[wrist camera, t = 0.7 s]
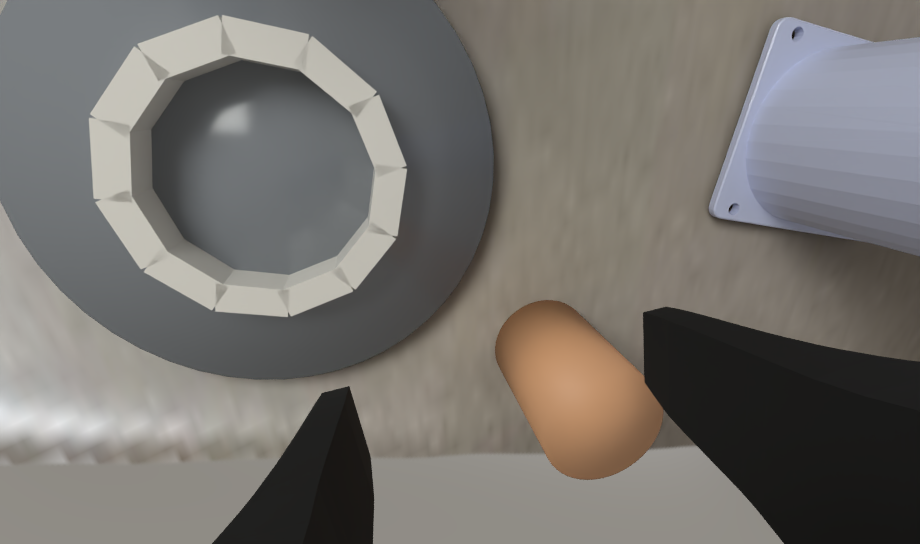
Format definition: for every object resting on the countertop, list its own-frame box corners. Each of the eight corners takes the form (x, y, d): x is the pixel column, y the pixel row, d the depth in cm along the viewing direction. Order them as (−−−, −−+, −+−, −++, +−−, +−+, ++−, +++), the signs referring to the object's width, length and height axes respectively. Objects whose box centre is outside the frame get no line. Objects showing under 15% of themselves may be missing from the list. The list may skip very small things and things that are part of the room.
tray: (529, -21, 16) (554, -40, 14) (449, 378, 21) (460, 409, 19) (-35, -180, 12) (-117, -239, 10) (27, 357, 17) (-21, 392, 15)
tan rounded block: (596, 304, 21) (680, 375, 16) (572, 387, 23) (641, 479, 17) (506, 295, 20) (562, 368, 15) (486, 383, 21) (530, 480, 16)
